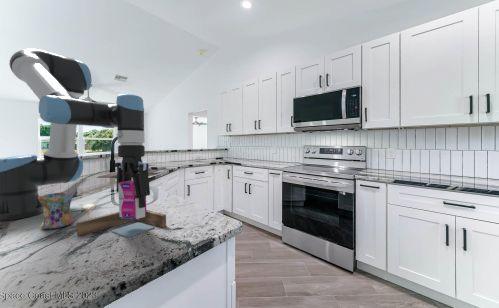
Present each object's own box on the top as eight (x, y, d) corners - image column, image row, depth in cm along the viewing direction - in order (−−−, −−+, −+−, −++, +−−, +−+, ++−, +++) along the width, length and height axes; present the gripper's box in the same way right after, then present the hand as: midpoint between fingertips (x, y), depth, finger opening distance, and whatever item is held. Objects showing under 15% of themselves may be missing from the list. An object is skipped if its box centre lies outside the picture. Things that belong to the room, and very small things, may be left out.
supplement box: (118, 219, 69) (117, 182, 69) (132, 213, 75) (131, 179, 75) (134, 220, 68) (133, 183, 68) (147, 214, 74) (146, 180, 73)
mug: (79, 224, 77) (78, 194, 76) (44, 233, 69) (43, 199, 68) (66, 218, 83) (65, 190, 83) (32, 226, 75) (31, 195, 75)
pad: (111, 231, 70) (111, 230, 70) (138, 223, 78) (138, 222, 78) (127, 238, 65) (127, 236, 65) (154, 228, 73) (154, 227, 73)
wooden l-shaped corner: (77, 235, 67) (76, 222, 67) (136, 217, 84) (136, 207, 84) (106, 248, 59) (106, 233, 59) (166, 226, 75) (165, 214, 75)
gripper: (102, 144, 72) (104, 214, 73) (139, 144, 62) (141, 224, 63) (125, 144, 79) (126, 208, 80) (162, 144, 69) (163, 217, 70)
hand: (133, 215), depth 71 cm, fingers closed on supplement box, 7 cm apart
